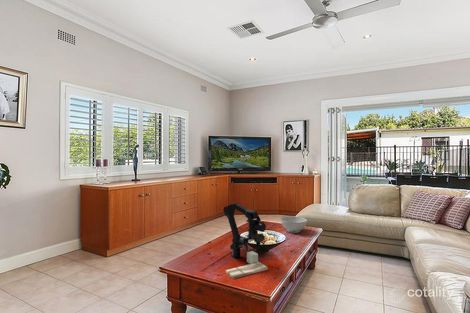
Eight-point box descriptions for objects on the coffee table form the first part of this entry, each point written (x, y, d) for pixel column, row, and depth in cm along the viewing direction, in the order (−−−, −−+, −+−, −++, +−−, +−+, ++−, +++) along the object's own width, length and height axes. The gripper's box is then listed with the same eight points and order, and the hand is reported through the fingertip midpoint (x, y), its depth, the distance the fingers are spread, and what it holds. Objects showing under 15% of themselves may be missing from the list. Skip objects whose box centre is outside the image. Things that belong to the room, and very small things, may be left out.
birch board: (225, 272, 171) (225, 270, 171) (259, 264, 185) (259, 261, 185) (233, 278, 162) (233, 276, 162) (267, 269, 176) (267, 267, 176)
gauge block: (244, 260, 191) (244, 250, 191) (250, 259, 194) (250, 249, 194) (252, 265, 183) (252, 255, 183) (257, 263, 185) (258, 254, 185)
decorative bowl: (308, 228, 274) (308, 217, 274) (305, 236, 249) (305, 223, 249) (282, 226, 283) (282, 215, 283) (277, 233, 258) (278, 221, 258)
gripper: (247, 233, 175) (247, 256, 175) (269, 229, 184) (269, 251, 185) (239, 229, 185) (238, 251, 185) (260, 226, 194) (260, 246, 194)
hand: (252, 250), depth 187 cm, fingers open, 9 cm apart
